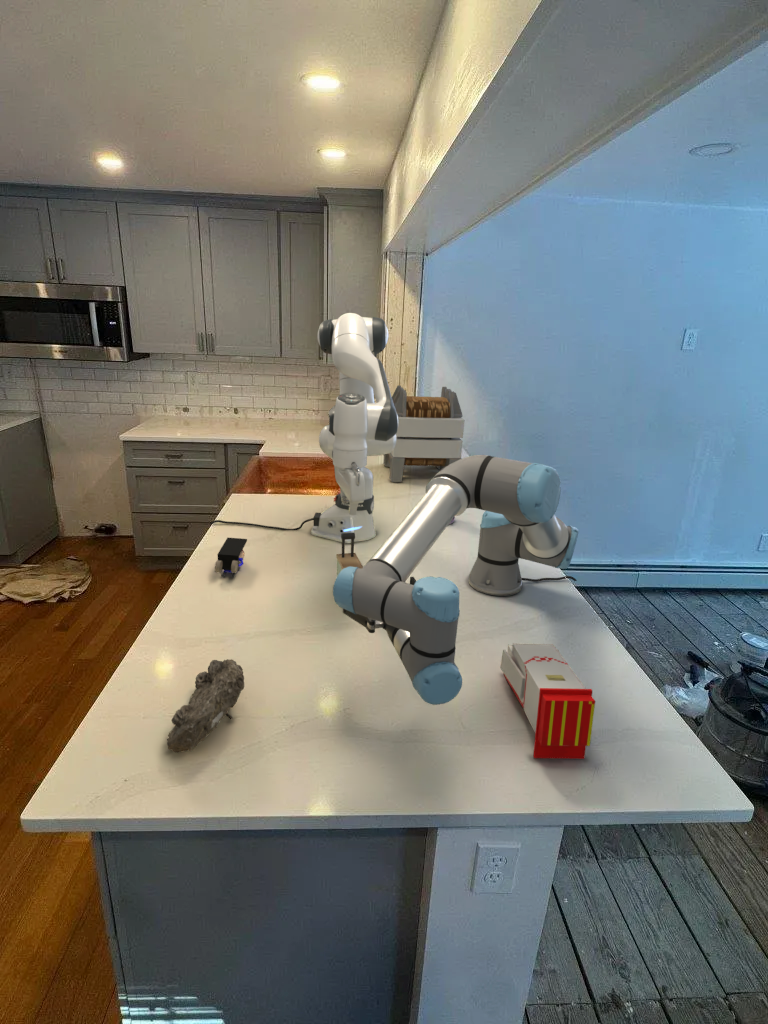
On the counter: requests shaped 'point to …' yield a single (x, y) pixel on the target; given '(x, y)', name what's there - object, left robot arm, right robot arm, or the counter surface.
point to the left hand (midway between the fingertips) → (348, 508)
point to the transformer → (425, 432)
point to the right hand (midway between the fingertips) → (381, 584)
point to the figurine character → (230, 556)
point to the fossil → (206, 705)
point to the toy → (550, 699)
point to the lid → (348, 558)
